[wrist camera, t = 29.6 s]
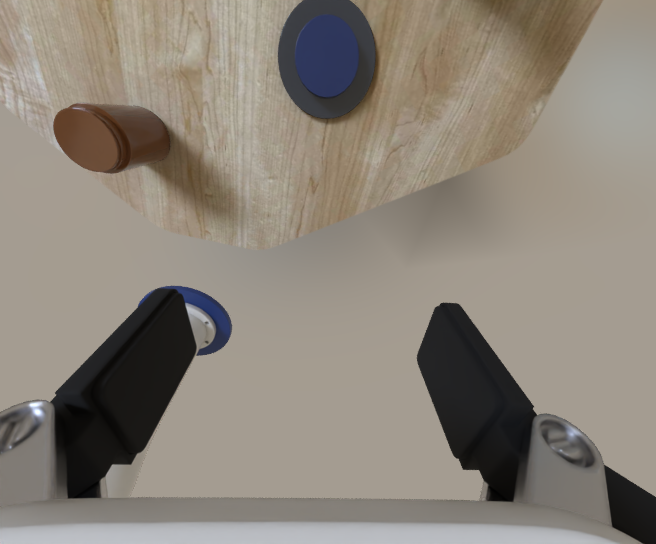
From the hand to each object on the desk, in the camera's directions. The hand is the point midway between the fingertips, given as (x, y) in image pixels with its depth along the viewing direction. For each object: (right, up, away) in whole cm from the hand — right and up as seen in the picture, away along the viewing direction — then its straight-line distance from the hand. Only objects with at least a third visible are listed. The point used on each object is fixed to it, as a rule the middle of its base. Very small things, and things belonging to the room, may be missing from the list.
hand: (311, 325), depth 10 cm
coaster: (+1, +26, +20) cm, 33 cm away
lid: (+1, +25, +18) cm, 31 cm away
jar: (-23, +20, +23) cm, 38 cm away
